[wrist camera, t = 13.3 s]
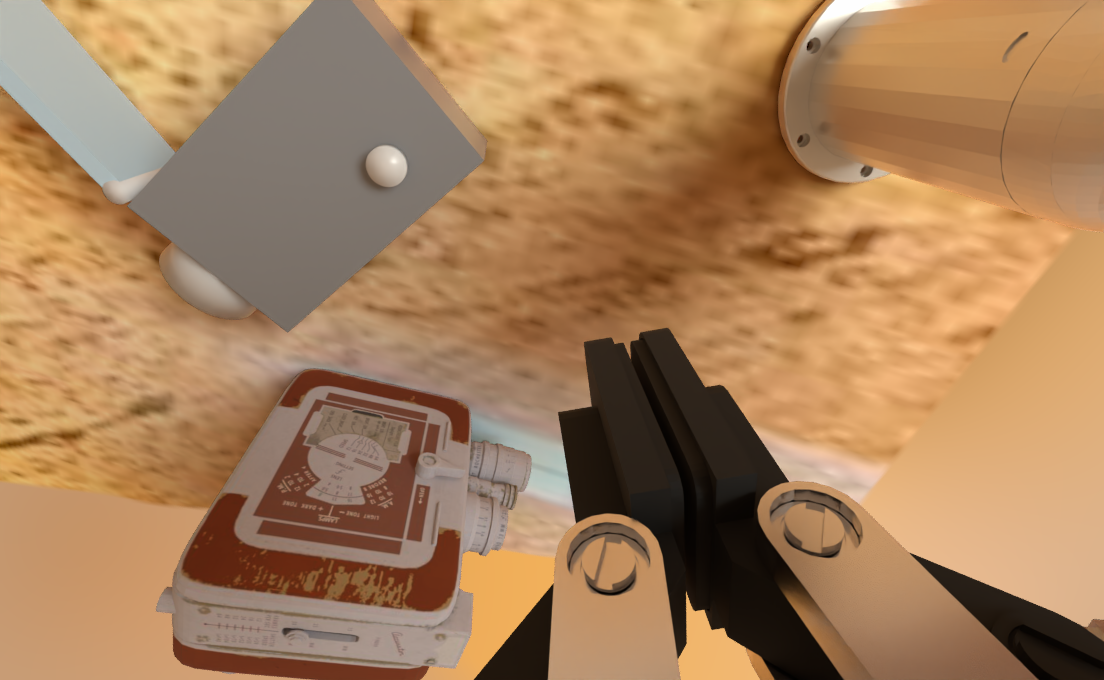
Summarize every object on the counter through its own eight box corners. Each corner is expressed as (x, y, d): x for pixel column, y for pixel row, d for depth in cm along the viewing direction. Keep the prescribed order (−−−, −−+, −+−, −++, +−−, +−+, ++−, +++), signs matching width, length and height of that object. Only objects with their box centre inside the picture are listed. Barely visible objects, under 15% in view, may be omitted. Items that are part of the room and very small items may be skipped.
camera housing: (369, -6, 29) (328, -24, 22) (487, 140, 33) (483, 163, 26) (164, 212, 33) (79, 252, 27) (291, 314, 38) (245, 371, 31)
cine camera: (505, 478, 48) (509, 719, 31) (288, 436, 43) (147, 692, 26) (537, 403, 44) (561, 631, 27) (301, 347, 39) (144, 581, 22)
